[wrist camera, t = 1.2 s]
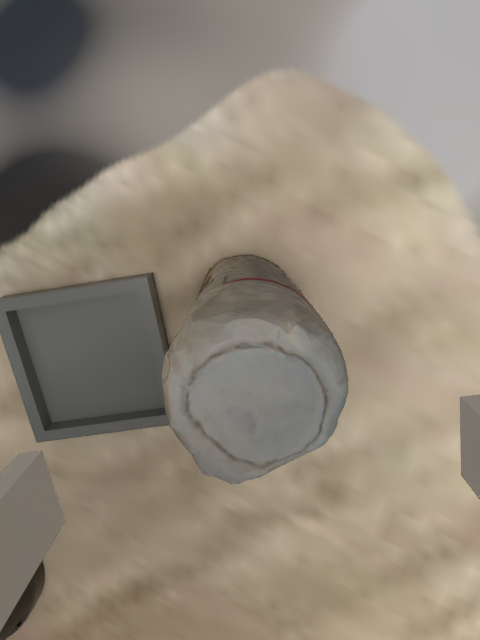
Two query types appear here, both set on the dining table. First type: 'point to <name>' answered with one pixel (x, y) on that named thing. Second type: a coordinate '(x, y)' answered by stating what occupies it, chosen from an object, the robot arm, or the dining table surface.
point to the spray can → (252, 373)
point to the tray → (88, 356)
